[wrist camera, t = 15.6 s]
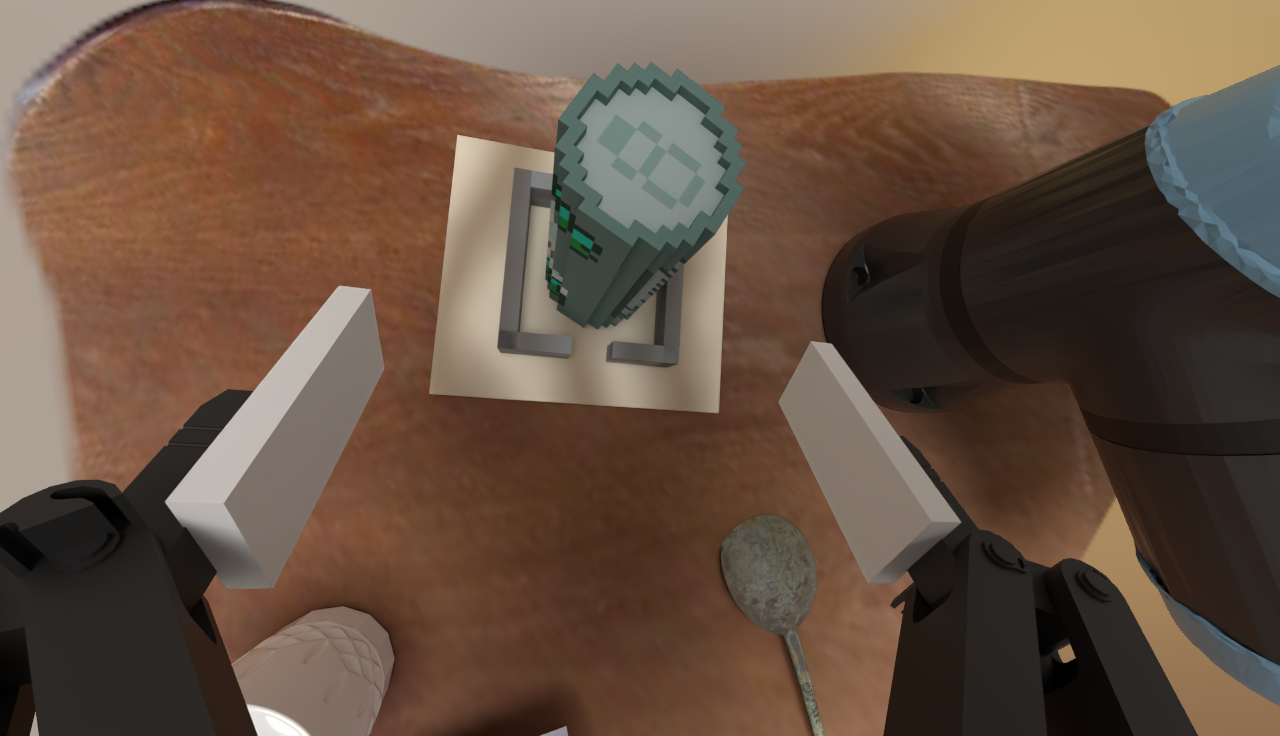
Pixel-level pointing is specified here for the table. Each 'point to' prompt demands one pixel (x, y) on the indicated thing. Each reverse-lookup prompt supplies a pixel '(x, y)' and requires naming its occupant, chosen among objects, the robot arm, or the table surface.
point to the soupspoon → (774, 586)
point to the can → (635, 189)
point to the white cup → (318, 675)
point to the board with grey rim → (527, 318)
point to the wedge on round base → (557, 732)
